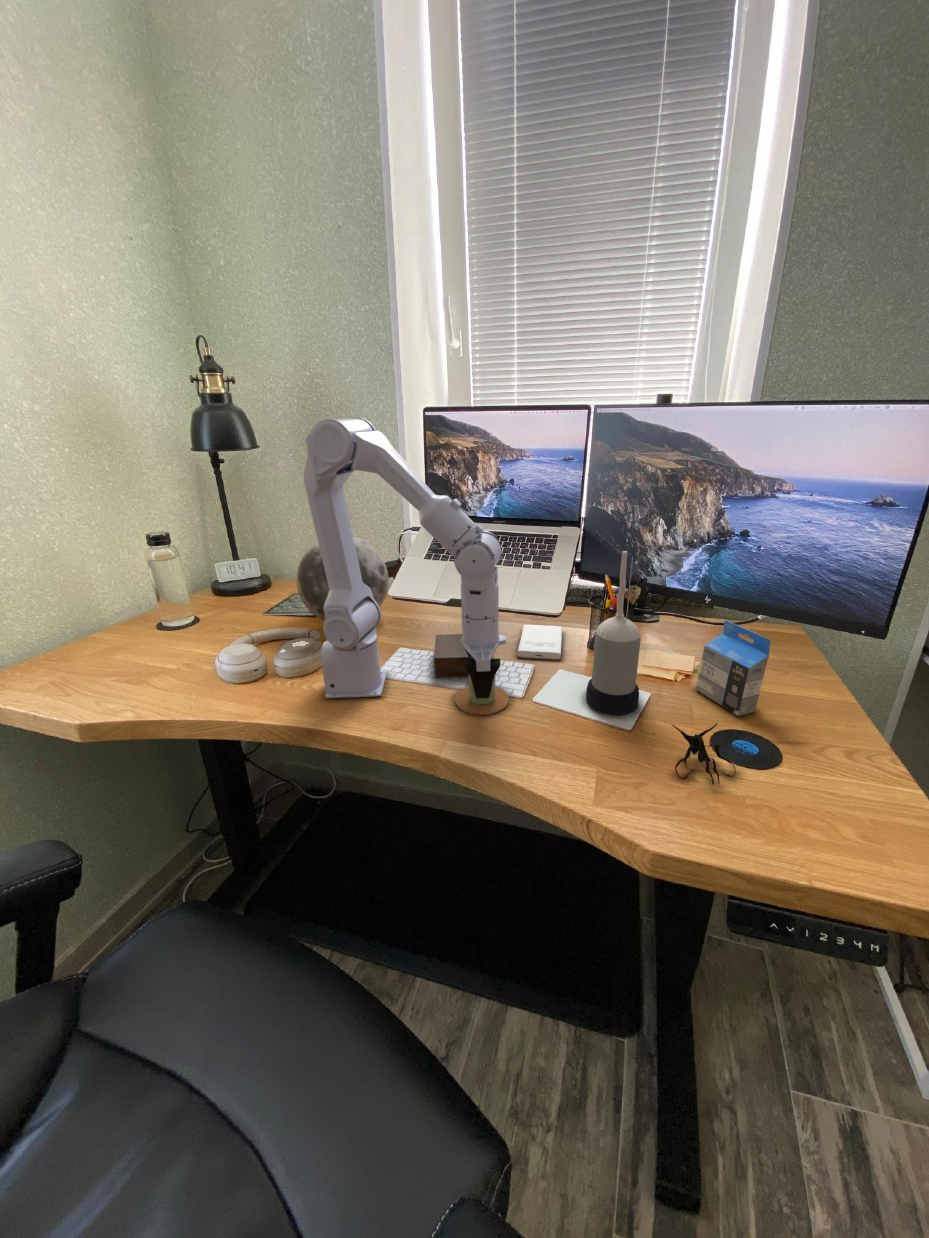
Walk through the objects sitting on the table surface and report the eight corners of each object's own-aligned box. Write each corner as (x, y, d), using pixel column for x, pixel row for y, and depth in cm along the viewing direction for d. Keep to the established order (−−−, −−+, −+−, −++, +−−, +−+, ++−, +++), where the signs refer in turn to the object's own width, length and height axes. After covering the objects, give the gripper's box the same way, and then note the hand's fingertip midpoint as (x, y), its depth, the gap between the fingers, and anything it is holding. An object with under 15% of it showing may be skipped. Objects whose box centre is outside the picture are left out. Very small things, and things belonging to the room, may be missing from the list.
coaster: (454, 716, 79) (454, 714, 79) (454, 687, 88) (454, 685, 88) (511, 714, 79) (511, 712, 79) (506, 685, 88) (506, 683, 88)
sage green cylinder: (469, 705, 81) (468, 666, 79) (468, 691, 85) (467, 654, 83) (496, 704, 81) (496, 665, 79) (494, 690, 85) (494, 653, 83)
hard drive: (562, 633, 107) (560, 660, 96) (523, 631, 109) (517, 657, 97) (562, 626, 106) (560, 652, 95) (523, 624, 108) (517, 649, 97)
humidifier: (616, 684, 87) (630, 542, 77) (649, 708, 80) (668, 555, 70) (576, 694, 84) (585, 549, 74) (605, 720, 77) (619, 563, 67)
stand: (435, 677, 91) (434, 658, 89) (437, 652, 100) (435, 634, 99) (490, 675, 91) (490, 656, 89) (487, 651, 100) (486, 632, 99)
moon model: (303, 612, 123) (289, 531, 115) (384, 601, 128) (377, 523, 120) (304, 645, 105) (288, 552, 97) (399, 631, 110) (391, 542, 103)
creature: (743, 791, 64) (715, 742, 70) (756, 764, 61) (726, 715, 67) (682, 794, 64) (659, 745, 70) (692, 767, 60) (667, 718, 67)
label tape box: (694, 690, 84) (705, 622, 79) (713, 685, 86) (725, 618, 81) (737, 717, 77) (753, 644, 72) (757, 711, 78) (774, 639, 73)
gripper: (511, 631, 71) (510, 712, 76) (501, 595, 84) (502, 667, 89) (461, 632, 71) (464, 714, 76) (459, 597, 84) (462, 668, 89)
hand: (481, 689), depth 83 cm, fingers closed on sage green cylinder, 4 cm apart
